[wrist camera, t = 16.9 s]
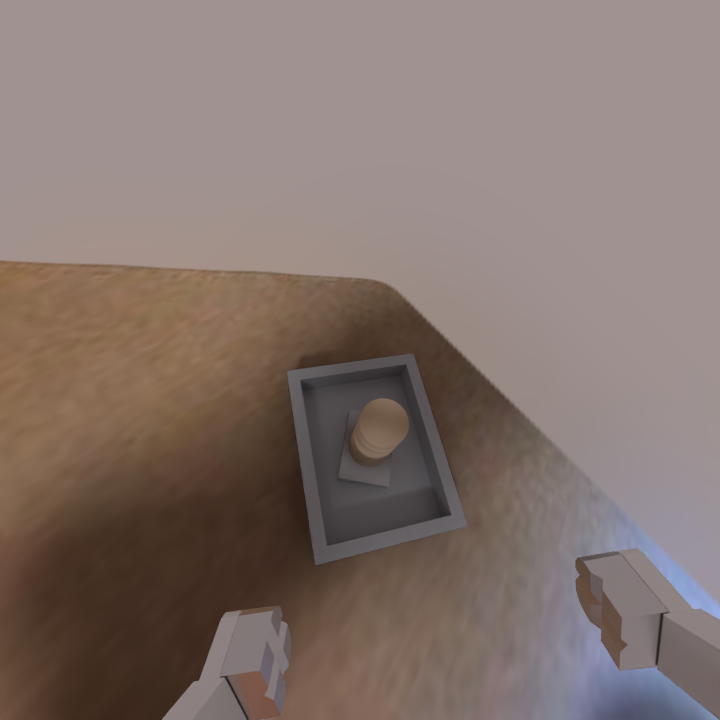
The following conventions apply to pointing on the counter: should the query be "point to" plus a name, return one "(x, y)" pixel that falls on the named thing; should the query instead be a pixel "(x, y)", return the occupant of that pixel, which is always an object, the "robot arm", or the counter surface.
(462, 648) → the counter surface
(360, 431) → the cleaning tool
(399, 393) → the tray
